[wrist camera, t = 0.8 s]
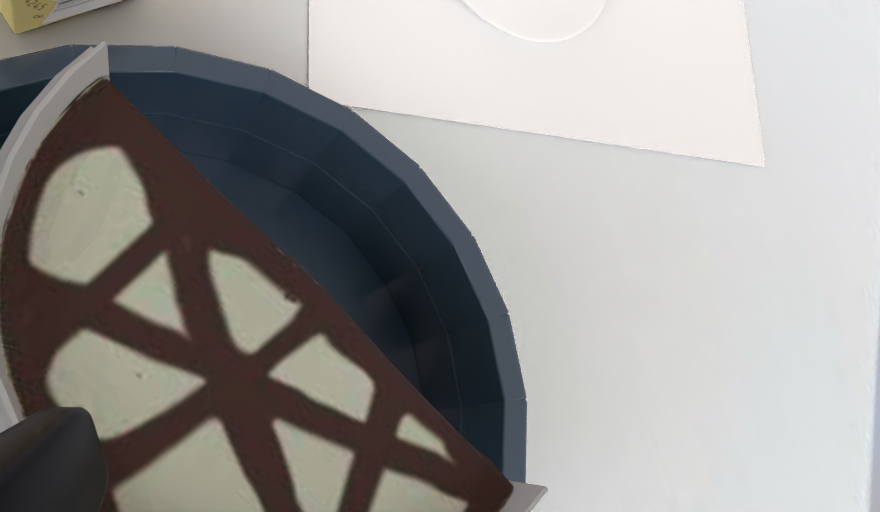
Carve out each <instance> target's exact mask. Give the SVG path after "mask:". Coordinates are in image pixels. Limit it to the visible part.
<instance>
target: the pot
mask: <svg viewBox="0 0 880 512" xmlns="http://www.w3.org/2000/svg"><path fill="white" fill-rule="evenodd" d="M91 46H92V47H93V48H95V47H96V46H97V45H71V46H70V45H66V46H62V47H57V48H53V49H48V50H44V51H39V52H35V53H30V54H26V55H21V56H17V57H12V58H7V59H3V60H0V150H1V148H2V146H3V145H4V143H5V141H6V139H7V138H8V136H9V134H10V133H11V131H12V129H13V128H14V126H15V124H16V123H17V121H18V119H19V117H20V116H21V115H22V113H23V112H24V111H25V110H26V109H27V108H28V107H29V105H30V104H31V103H32V102H33V101H34V100H35V98H36V97H37V96H38V95H39V94H40V93H41V91H42V90H43V89H44V88H45V87H46V86H47V85H48V83H49V82H50V81H51V80H52V79H53V78H54V76H56V75H57V74H58V73H59V72H60V71H62V70H63V69H64V68H65V67H66V66H68V65H69V64H70V63H71V62H72V61H74V60H75V59H76V58H77V57H79V56H80V55H81V54H82V53H83V52H85V51H86V50H87V49H88V48H89V47H91ZM107 47H108V63H109V78H110V82H111V83H112V84H113V85H114V86H115V87H116V88H117V89H118V90H119V91H120V92H121V93H122V94H123V95H124V96H125V97H126V98H127V99H128V100H129V101H130V102H131V103H132V104H133V105H134V106H135V107H136V108H137V109H138V110H139V111H140V112H141V113H142V114H143V115H144V116H145V117H146V118H147V119H148V120H149V121H150V122H151V123H152V124H153V125H154V126H155V127H156V128H157V129H158V130H159V131H160V132H161V133H162V134H163V135H164V136H165V137H166V138H167V139H168V140H169V141H170V142H171V143H172V144H173V145H174V146H175V147H176V148H177V149H178V150H179V151H180V152H181V153H182V154H183V155H184V156H185V157H186V158H187V159H188V160H189V161H190V162H191V163H192V164H193V165H194V166H195V167H196V168H197V169H198V170H199V171H200V172H201V173H202V174H203V175H204V176H205V177H206V178H207V179H208V180H209V181H210V182H211V183H212V184H213V185H214V186H215V187H216V188H217V189H218V190H219V191H220V192H221V193H222V194H223V195H224V196H225V197H226V198H227V199H228V200H229V201H230V202H231V203H232V204H234V205H235V206H236V207H237V208H238V209H239V210H240V211H241V212H242V213H243V214H244V215H245V216H246V217H247V218H248V219H249V220H250V221H251V222H253V223H254V224H255V225H256V226H257V227H258V228H259V229H260V230H261V231H262V232H263V233H264V234H265V235H266V236H267V237H268V238H269V239H271V240H272V241H273V242H274V243H275V244H276V245H277V246H278V247H279V248H281V249H282V250H283V251H284V252H285V253H286V254H287V255H288V256H290V257H291V258H292V259H293V260H294V261H295V262H296V263H297V264H298V265H299V266H300V267H301V268H303V269H304V270H305V271H306V272H307V273H308V274H309V275H310V276H311V277H312V278H313V279H314V280H316V281H317V282H318V283H319V284H320V285H321V286H322V287H323V288H324V289H325V290H326V291H327V292H328V293H329V294H330V295H331V297H332V298H333V299H334V300H335V301H336V302H337V303H338V304H339V305H340V307H341V308H342V309H343V310H344V311H345V312H346V313H347V314H348V315H349V316H350V317H351V319H352V320H353V321H354V322H355V323H356V324H357V325H358V326H359V327H360V328H361V330H362V331H363V332H364V333H365V334H366V335H367V336H368V337H369V339H370V340H371V341H372V342H373V343H374V344H375V345H376V346H377V348H378V349H379V350H380V351H381V352H382V353H383V354H384V355H385V356H386V358H387V359H388V360H389V361H390V362H391V363H392V364H393V365H394V366H395V367H396V368H397V369H398V370H399V371H400V372H401V373H402V375H403V376H404V377H405V378H406V379H407V380H408V381H409V382H410V383H411V384H412V385H413V386H414V387H415V388H416V389H417V390H418V392H419V393H420V394H421V395H422V396H423V397H424V398H425V399H426V400H427V401H428V402H429V403H430V404H431V405H432V406H433V407H434V408H435V409H436V410H437V411H438V412H439V413H440V414H441V415H442V416H443V417H444V418H445V419H446V420H447V421H448V422H449V423H450V424H451V425H452V426H453V427H454V428H455V430H456V431H457V432H458V433H460V434H461V435H462V436H463V437H464V438H465V439H466V440H467V441H468V442H469V443H470V444H471V445H472V446H473V447H475V448H476V449H477V450H478V451H479V452H481V453H482V454H484V455H485V456H486V457H488V458H489V459H490V460H491V461H492V463H493V464H494V465H495V467H496V468H497V469H498V470H499V472H501V473H502V474H503V475H504V476H505V477H506V478H507V479H508V480H509V481H515V482H521V483H525V479H526V424H527V401H526V400H525V399H526V393H525V388H524V384H523V379H522V374H521V369H520V364H519V359H518V355H517V350H516V345H515V340H514V335H513V331H512V326H511V321H510V316H509V315H508V310H507V308H506V306H505V303H504V301H503V299H502V297H501V295H500V292H499V290H498V288H497V286H496V284H495V282H494V279H493V277H492V275H491V273H490V271H489V268H488V266H487V264H486V262H485V260H484V258H483V255H482V253H481V251H480V249H479V247H478V244H477V242H476V240H475V238H474V236H471V235H472V234H471V232H470V231H469V229H468V228H467V227H466V226H465V224H464V223H463V222H462V220H461V219H460V218H459V216H458V215H457V214H456V213H455V211H454V210H453V209H452V207H451V206H450V205H449V203H448V202H447V201H446V200H445V198H444V197H443V196H442V194H441V193H440V192H439V190H438V189H437V188H436V187H435V185H434V184H433V183H432V181H431V180H430V179H429V177H428V176H427V175H426V174H425V172H424V171H423V170H422V169H421V168H419V165H418V164H417V163H416V162H414V161H413V160H412V159H411V158H410V157H408V156H407V155H406V154H405V153H403V152H402V151H401V150H400V149H399V148H397V147H396V146H395V145H394V144H393V143H391V142H390V141H389V140H388V139H386V138H385V137H384V136H383V135H382V134H380V133H379V132H378V131H377V130H376V129H374V128H373V127H372V126H371V125H369V124H368V123H367V122H366V121H365V120H363V119H362V118H361V117H360V116H359V115H357V114H356V113H355V112H352V110H351V109H349V108H347V107H345V106H343V105H341V104H339V103H337V102H335V101H333V100H331V99H329V98H327V97H325V96H323V95H321V94H319V93H317V92H315V91H313V90H311V89H309V88H307V87H305V86H303V85H301V84H299V83H297V82H295V81H293V80H291V79H289V78H287V77H285V76H283V75H281V74H279V73H277V72H275V71H273V70H269V69H268V68H264V67H260V66H255V65H251V64H247V63H243V62H239V61H235V60H231V59H227V58H223V57H218V56H214V55H210V54H206V53H202V52H198V51H194V50H190V49H186V48H181V47H174V46H133V45H107Z"/></svg>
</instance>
